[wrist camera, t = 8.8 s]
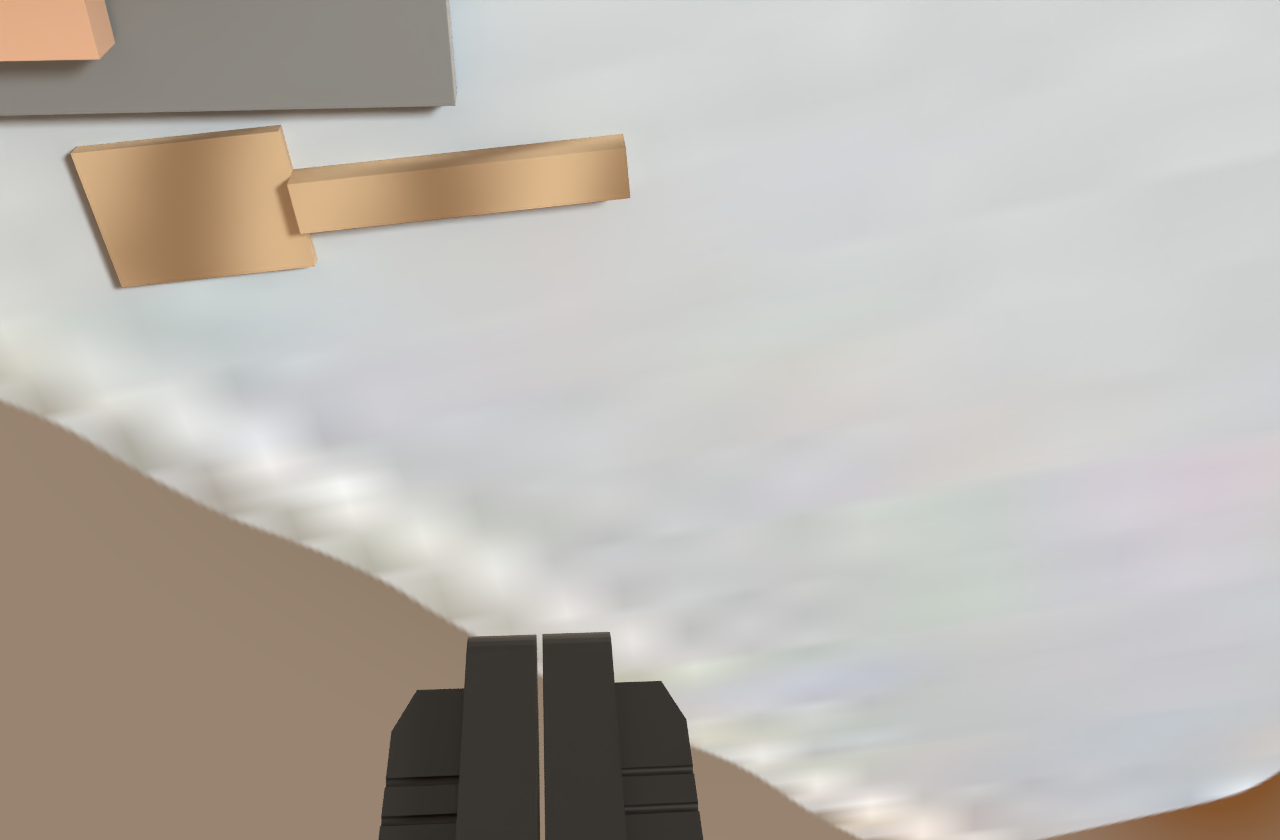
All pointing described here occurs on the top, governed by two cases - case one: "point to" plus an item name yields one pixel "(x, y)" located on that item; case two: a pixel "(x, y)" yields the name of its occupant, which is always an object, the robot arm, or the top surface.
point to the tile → (54, 30)
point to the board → (248, 59)
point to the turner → (308, 196)
